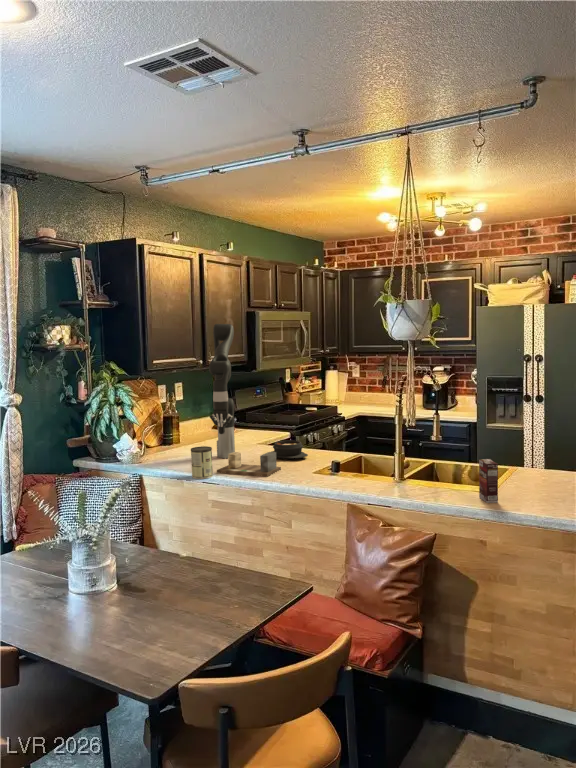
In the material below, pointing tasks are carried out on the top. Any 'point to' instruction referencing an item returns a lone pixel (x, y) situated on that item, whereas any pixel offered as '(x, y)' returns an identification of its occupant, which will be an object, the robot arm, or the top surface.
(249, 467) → the board
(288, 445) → the casserole
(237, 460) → the tan wooden block
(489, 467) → the supplement box
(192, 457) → the coffee can
